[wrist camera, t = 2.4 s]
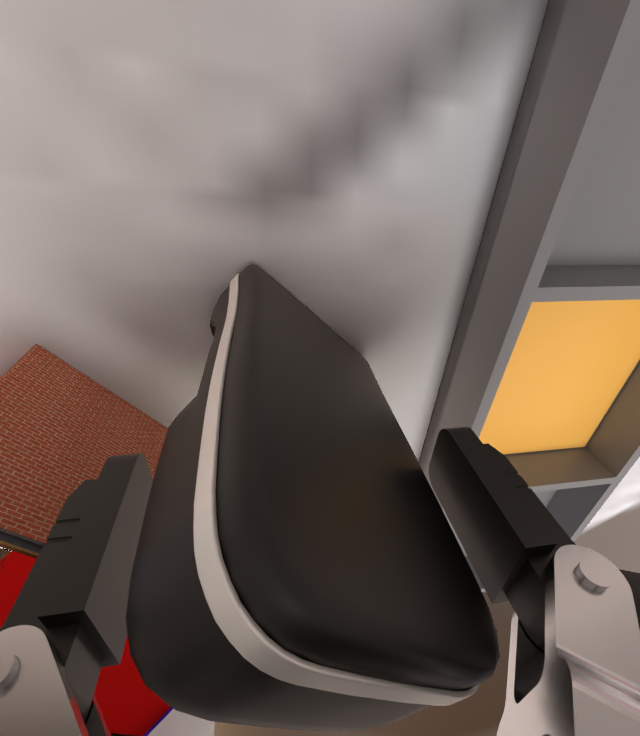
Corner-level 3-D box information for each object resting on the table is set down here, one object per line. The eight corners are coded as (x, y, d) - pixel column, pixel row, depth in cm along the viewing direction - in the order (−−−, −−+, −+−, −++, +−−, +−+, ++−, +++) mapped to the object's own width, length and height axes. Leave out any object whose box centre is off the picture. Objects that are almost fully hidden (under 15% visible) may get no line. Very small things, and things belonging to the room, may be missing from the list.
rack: (605, -199, 8) (755, -337, 6) (929, -127, 10) (1154, -212, 7) (391, 558, 26) (406, 604, 23) (519, 541, 27) (546, 582, 25)
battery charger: (182, 326, 14) (31, 760, 4) (246, 252, 13) (233, 622, 3) (311, 413, 17) (383, 760, 8) (371, 361, 16) (541, 694, 7)
